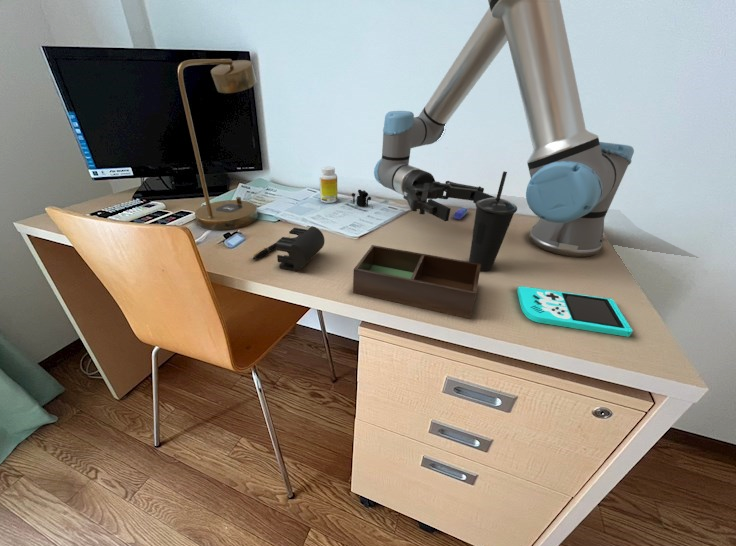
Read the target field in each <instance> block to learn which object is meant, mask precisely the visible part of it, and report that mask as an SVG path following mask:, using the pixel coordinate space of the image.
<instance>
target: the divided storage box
mask: <svg viewBox="0 0 736 546" xmlns="http://www.w3.org/2000/svg"><path fill="white" fill-rule="evenodd" d="M480 268H481V264H480V263H474V262H469V260H461V259H456V258H450V257H445V256H444V257H443V256H439V255H434V254H433V255H432V254H427V253H421V252H414V251H410V250H403V249H397V248H392V247H386V246H379V245H374V244H372V245H371V246H370V247H369V248H368V250H367V251H366V252H365V254H364V255H363V256H362V258H361V259H360V260H359V262H358V263H357V264H356V265H355V267H354V268H353V276H352V278H353V279H352V294H357V295H361V296H366V297H370V298H374V299H379V300H383V301H388V302H393V303H397V304H402V305H407V306H410V307H415V308H418V309H424V310H428V311H433V312H437V313H441V314H446V315H451V316H456V317H459V318H464V319H471V315H472V311H473V309H474V304H475V300H476V297H477V292H478V287H479V280H480V274H481V271H480Z"/></svg>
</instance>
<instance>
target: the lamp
mask: <svg viewBox="0 0 736 546" xmlns="http://www.w3.org/2000/svg"><path fill="white" fill-rule="evenodd" d="M203 65H204V66H206V65H207V66H208V65H216V66H214V67H213V68H212V69H211V70H210V74H211V78H212V80H213V83H214V85H215V89H216V91H217V92H218V93H220V94H234V93H240V92H242V91H243V92H244V91H246V90H248V89H251V88H253V86H255V85H256V84H257V82H258V81H257V76H256V72H255V69H254V66H253V62H252V61H251V60H247V59H237V60H232V58H211V59H210V58H199V59H197V58H196V59H187V60H184V61H181V62H180V63H179V64H178V66H177V79H178V86H179V90H180V95H181V99H182V103H183V108H184V112H185V117H186V121H187V126H188V130H189V135H190V138H191V139H190V140H191V143H192V148H193V152H194V157H195V160H196V165H197V170H198V174H199V178H200V183H201V188H202V192H203V197H204V201H205V204H204V205H202V206H200V207H198V208H197V209H196V210H195V212H194V216H195V217H194V218H195V222H196V224H197V225H198V227H200V228H203V229H206V230H212V231H228V230H235V229H240V228H243V227H246V226H248V225H250V224H253V223H254V222H255V221H256V220H257V219H258V208H257V206H256V204H255V203H253V202H250V201H247V200H242V197H241V196H237V197H235V198H236V199H226V200H220V201H219V200H218V201H213V202H210V197H209V191H208V187H207V183H206V179H205V178H206V177H205V174H204V168H203V164H202V161H201V160H202V159H201V156H200V151H199V146H198V142H197V141H198V140H197V137H196V132H195V127H194V123H193V119H192V114H191V109H190V105H189V100H188V97H187V92H186V86H185V81H184V70H185V68H187V67H190V66H191V67H192V66H203Z"/></svg>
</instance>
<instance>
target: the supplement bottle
mask: <svg viewBox="0 0 736 546" xmlns="http://www.w3.org/2000/svg"><path fill="white" fill-rule="evenodd" d="M335 169H336V168H335V167H334V166H323V167H322V168H321V174H319V198H320V199H319V200H320V201H321V202H322V203H325V204H326V203H327V204H332V203H335V202H337V201H338V175H337V174H336V170H335Z"/></svg>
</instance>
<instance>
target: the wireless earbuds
mask: <svg viewBox="0 0 736 546" xmlns="http://www.w3.org/2000/svg"><path fill="white" fill-rule="evenodd" d="M357 193H358V195H357V196H356V193H355V192H352V193H351V197H353V198H352V203H353V204H355V203H356V205H357V206H358V207H361V208H365V207H368V206H369V201H371V200H372V197H371V196H369V193H368V192H367V191H366V190H362V189H357ZM355 198H356V199H355ZM355 200H356V201H355Z"/></svg>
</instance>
